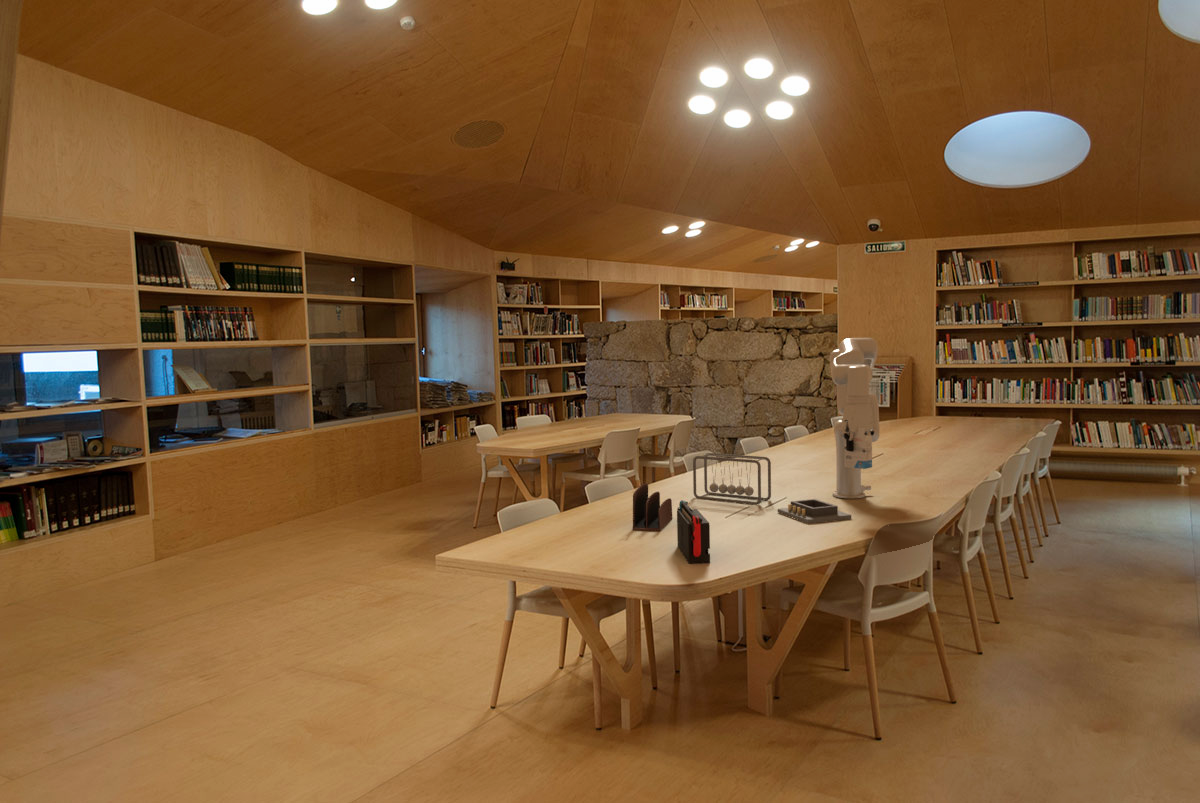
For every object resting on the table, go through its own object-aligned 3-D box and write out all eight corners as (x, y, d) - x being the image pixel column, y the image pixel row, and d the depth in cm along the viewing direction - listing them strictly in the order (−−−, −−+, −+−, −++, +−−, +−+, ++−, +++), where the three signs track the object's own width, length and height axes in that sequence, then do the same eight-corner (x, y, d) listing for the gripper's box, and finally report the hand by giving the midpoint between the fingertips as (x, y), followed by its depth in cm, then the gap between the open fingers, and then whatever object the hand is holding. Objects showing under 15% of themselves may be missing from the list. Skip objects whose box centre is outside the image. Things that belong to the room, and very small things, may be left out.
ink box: (872, 467, 290) (872, 426, 289) (865, 469, 287) (864, 427, 285) (851, 464, 296) (851, 424, 295) (844, 466, 293) (843, 426, 292)
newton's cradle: (693, 498, 335) (692, 455, 333) (705, 494, 343) (704, 452, 342) (760, 505, 317) (759, 460, 316) (771, 500, 325) (771, 457, 324)
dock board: (819, 508, 309) (819, 496, 308) (851, 518, 290) (851, 506, 290) (777, 512, 303) (777, 500, 303) (807, 523, 284) (807, 511, 284)
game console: (675, 543, 262) (674, 499, 261) (695, 543, 262) (694, 498, 261) (691, 568, 234) (690, 518, 233) (712, 567, 234) (712, 517, 233)
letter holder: (632, 530, 282) (631, 490, 280) (646, 518, 300) (645, 480, 299) (660, 532, 279) (659, 491, 278) (672, 519, 297) (672, 481, 296)
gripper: (871, 398, 296) (871, 447, 297) (831, 401, 290) (831, 450, 292) (885, 400, 289) (885, 450, 290) (844, 402, 283) (844, 453, 285)
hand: (858, 449), depth 291 cm, fingers closed on ink box, 6 cm apart
